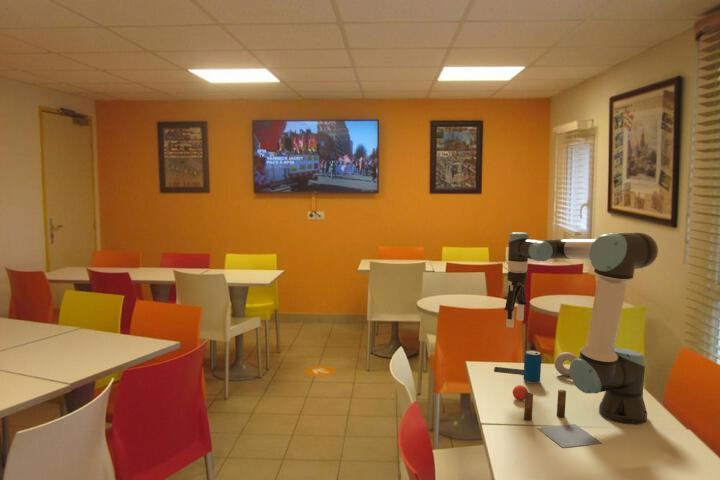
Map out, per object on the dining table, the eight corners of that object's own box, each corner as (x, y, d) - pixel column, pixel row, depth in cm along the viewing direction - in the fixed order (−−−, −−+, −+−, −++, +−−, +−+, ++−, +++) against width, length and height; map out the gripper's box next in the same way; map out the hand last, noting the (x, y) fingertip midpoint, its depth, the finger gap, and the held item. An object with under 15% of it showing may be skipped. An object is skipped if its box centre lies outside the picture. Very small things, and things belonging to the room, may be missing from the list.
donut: (578, 375, 240) (580, 352, 239) (579, 378, 237) (581, 354, 235) (553, 373, 242) (554, 350, 241) (554, 375, 239) (555, 352, 238)
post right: (566, 417, 197) (567, 392, 196) (559, 418, 197) (560, 392, 196) (561, 414, 200) (563, 389, 199) (555, 415, 199) (556, 389, 198)
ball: (530, 402, 210) (531, 387, 209) (517, 403, 209) (517, 389, 208) (522, 396, 215) (523, 382, 215) (509, 398, 214) (510, 383, 213)
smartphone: (528, 375, 239) (493, 371, 243) (528, 376, 239) (493, 373, 243) (528, 370, 245) (494, 366, 249) (528, 371, 246) (494, 367, 249)
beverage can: (540, 384, 228) (542, 355, 227) (523, 383, 230) (525, 354, 228) (539, 379, 235) (540, 350, 233) (522, 377, 236) (524, 349, 235)
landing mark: (602, 443, 178) (602, 442, 178) (562, 448, 175) (562, 447, 175) (574, 424, 192) (574, 424, 192) (537, 428, 188) (537, 427, 188)
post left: (533, 420, 194) (534, 394, 193) (526, 421, 193) (527, 395, 192) (529, 417, 197) (530, 392, 196) (522, 418, 196) (523, 392, 195)
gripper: (517, 266, 242) (515, 316, 244) (498, 274, 220) (495, 328, 223) (535, 268, 238) (532, 318, 240) (517, 276, 217) (515, 331, 219)
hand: (515, 323), depth 231 cm, fingers open, 13 cm apart
